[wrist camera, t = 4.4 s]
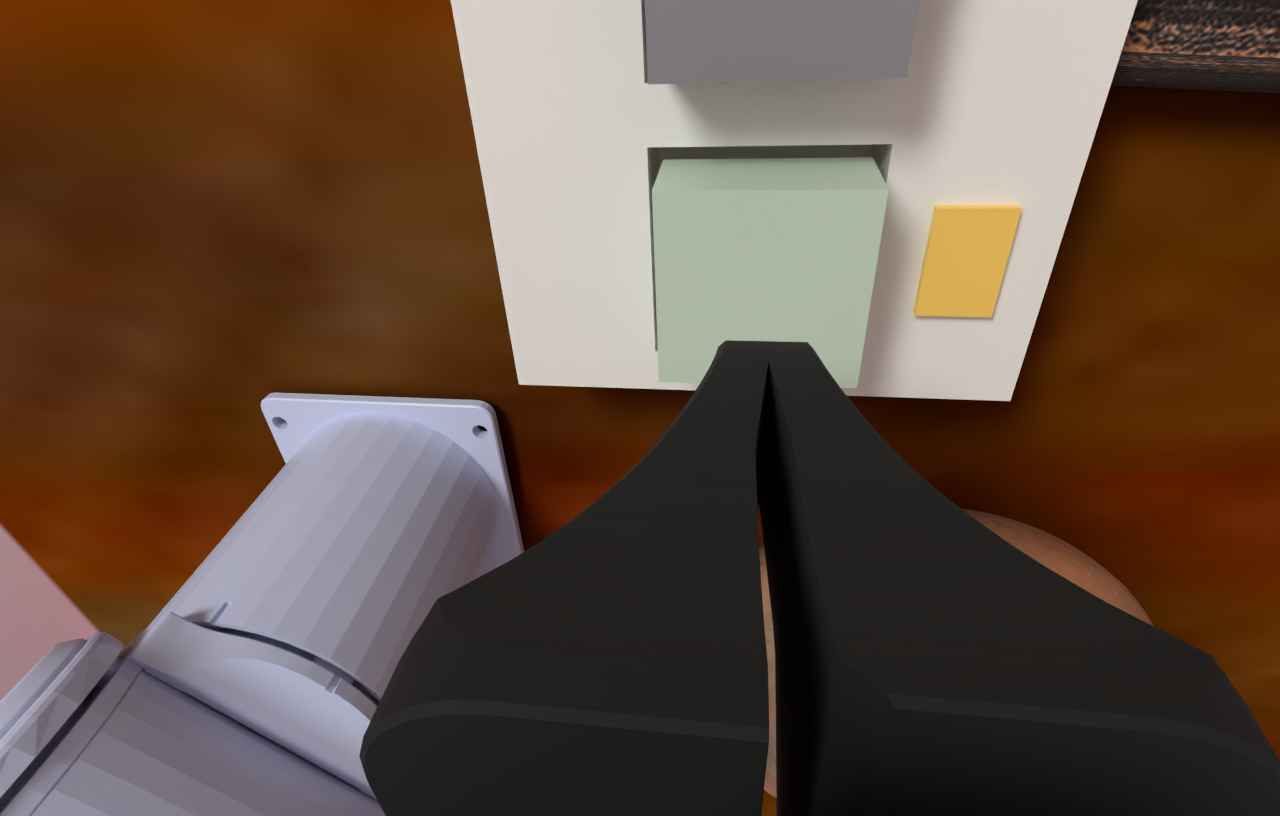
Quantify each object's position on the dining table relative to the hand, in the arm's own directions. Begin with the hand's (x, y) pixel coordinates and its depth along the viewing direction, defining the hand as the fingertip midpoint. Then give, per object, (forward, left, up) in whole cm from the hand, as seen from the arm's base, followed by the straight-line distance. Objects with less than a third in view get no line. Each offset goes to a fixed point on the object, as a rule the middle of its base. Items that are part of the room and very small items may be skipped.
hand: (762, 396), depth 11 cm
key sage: (0, 0, -6) cm, 6 cm away
